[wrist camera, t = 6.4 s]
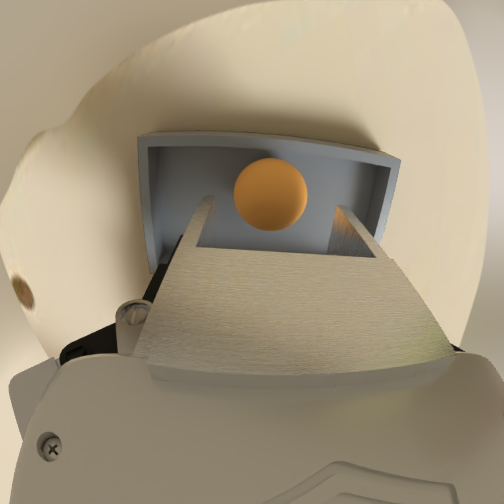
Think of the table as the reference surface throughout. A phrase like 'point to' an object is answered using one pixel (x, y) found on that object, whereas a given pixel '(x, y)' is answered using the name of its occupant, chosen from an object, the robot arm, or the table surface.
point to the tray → (224, 178)
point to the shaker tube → (288, 315)
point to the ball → (270, 194)
